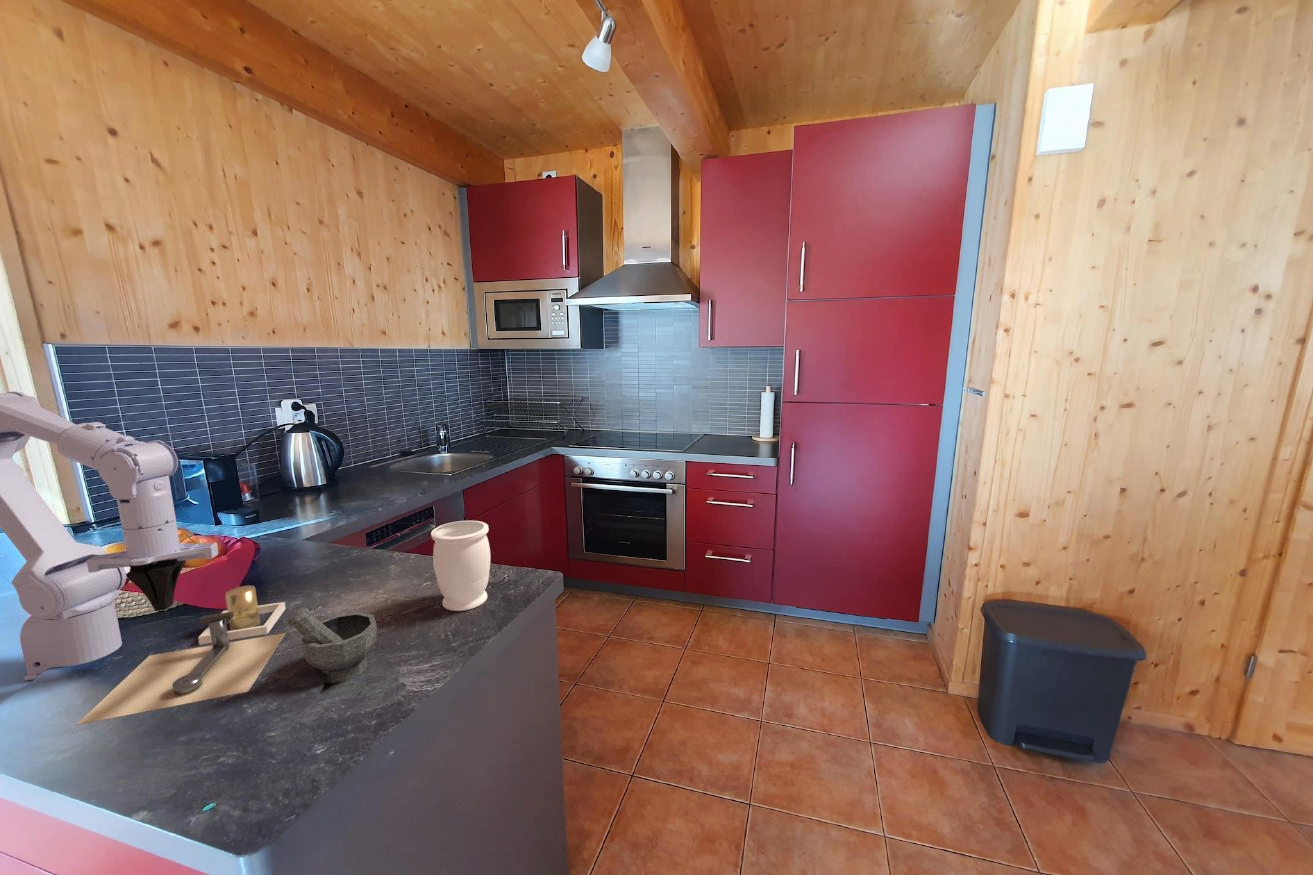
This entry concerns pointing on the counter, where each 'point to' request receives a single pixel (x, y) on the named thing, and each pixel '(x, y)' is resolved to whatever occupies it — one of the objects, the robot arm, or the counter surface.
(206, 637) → the tray
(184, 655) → the crank board
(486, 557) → the jar
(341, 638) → the mortar and pestle
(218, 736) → the counter surface
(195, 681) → the crank
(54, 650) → the robot arm
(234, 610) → the brass cylinder
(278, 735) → the counter surface
